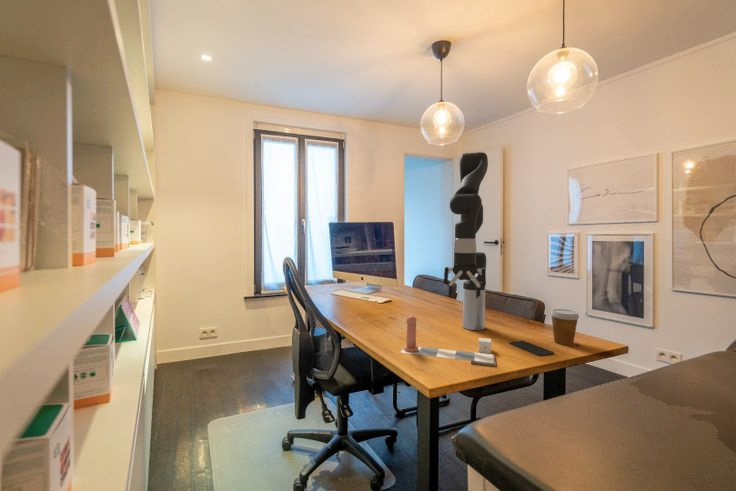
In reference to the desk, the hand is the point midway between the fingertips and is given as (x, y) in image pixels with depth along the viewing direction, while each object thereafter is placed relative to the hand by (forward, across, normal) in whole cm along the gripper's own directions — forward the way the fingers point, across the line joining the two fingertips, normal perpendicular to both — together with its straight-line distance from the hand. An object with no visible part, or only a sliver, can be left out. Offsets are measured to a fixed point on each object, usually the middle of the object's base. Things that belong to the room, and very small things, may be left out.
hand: (464, 296), depth 122 cm
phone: (+20, -23, -9) cm, 32 cm away
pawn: (+18, +17, +9) cm, 26 cm away
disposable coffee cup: (+20, -36, -20) cm, 46 cm away
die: (+19, -7, -1) cm, 21 cm away
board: (+19, +5, +9) cm, 21 cm away
